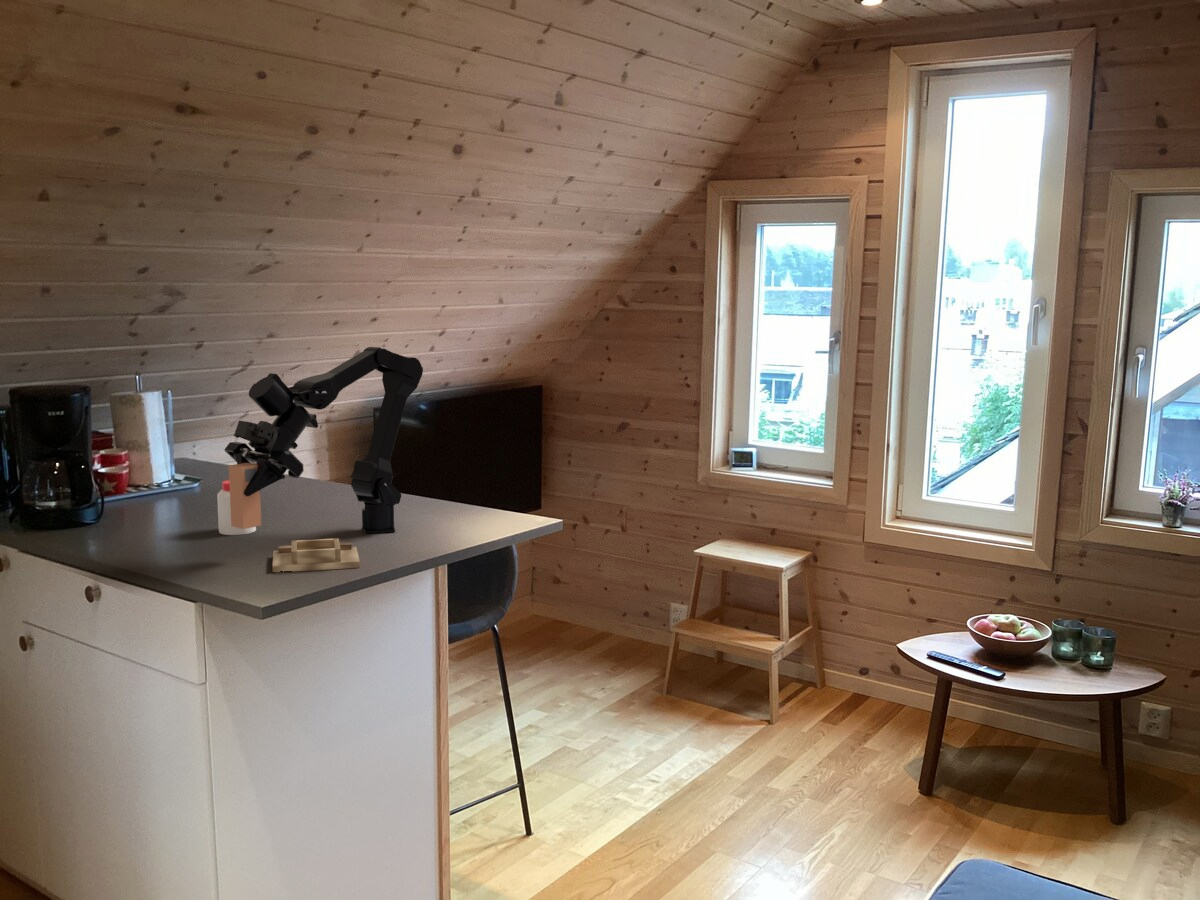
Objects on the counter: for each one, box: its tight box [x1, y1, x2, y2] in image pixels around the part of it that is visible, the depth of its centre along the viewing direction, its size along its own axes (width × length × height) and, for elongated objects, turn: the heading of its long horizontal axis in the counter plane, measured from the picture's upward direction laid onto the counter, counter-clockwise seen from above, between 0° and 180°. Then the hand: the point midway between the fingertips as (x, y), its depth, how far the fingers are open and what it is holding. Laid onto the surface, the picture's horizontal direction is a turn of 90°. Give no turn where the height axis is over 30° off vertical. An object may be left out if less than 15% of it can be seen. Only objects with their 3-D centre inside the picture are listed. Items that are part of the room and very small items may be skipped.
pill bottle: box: [216, 479, 257, 536], centre depth 233 cm, size 8×8×11 cm
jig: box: [272, 537, 361, 573], centre depth 208 cm, size 16×12×4 cm
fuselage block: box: [228, 463, 262, 529], centre depth 208 cm, size 4×4×12 cm
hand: (238, 493), depth 206 cm, fingers closed on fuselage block, 4 cm apart
